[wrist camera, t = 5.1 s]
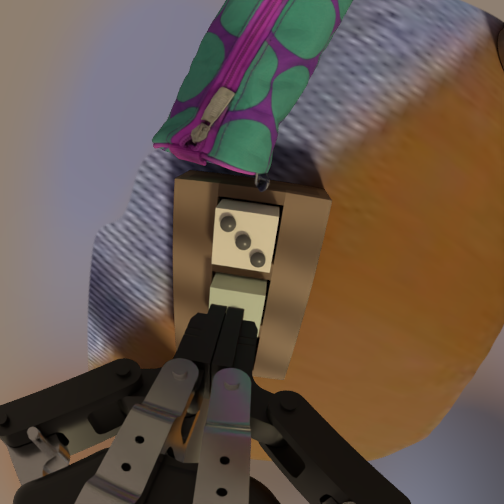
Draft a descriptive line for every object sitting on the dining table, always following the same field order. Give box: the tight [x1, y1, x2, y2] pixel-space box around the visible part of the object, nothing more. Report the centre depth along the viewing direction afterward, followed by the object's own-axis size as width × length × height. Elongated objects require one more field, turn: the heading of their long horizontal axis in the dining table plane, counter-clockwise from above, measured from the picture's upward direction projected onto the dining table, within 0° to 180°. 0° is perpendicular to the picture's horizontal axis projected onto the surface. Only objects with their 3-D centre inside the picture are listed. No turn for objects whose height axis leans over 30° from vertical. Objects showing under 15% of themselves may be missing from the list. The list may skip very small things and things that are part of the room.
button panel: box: [173, 170, 332, 380], centre depth 27 cm, size 20×12×4 cm, turn 173°
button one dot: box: [209, 272, 267, 337], centre depth 24 cm, size 4×4×3 cm
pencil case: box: [152, 0, 353, 192], centre depth 15 cm, size 21×9×10 cm, turn 157°
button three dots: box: [212, 199, 279, 273], centre depth 22 cm, size 4×4×3 cm
